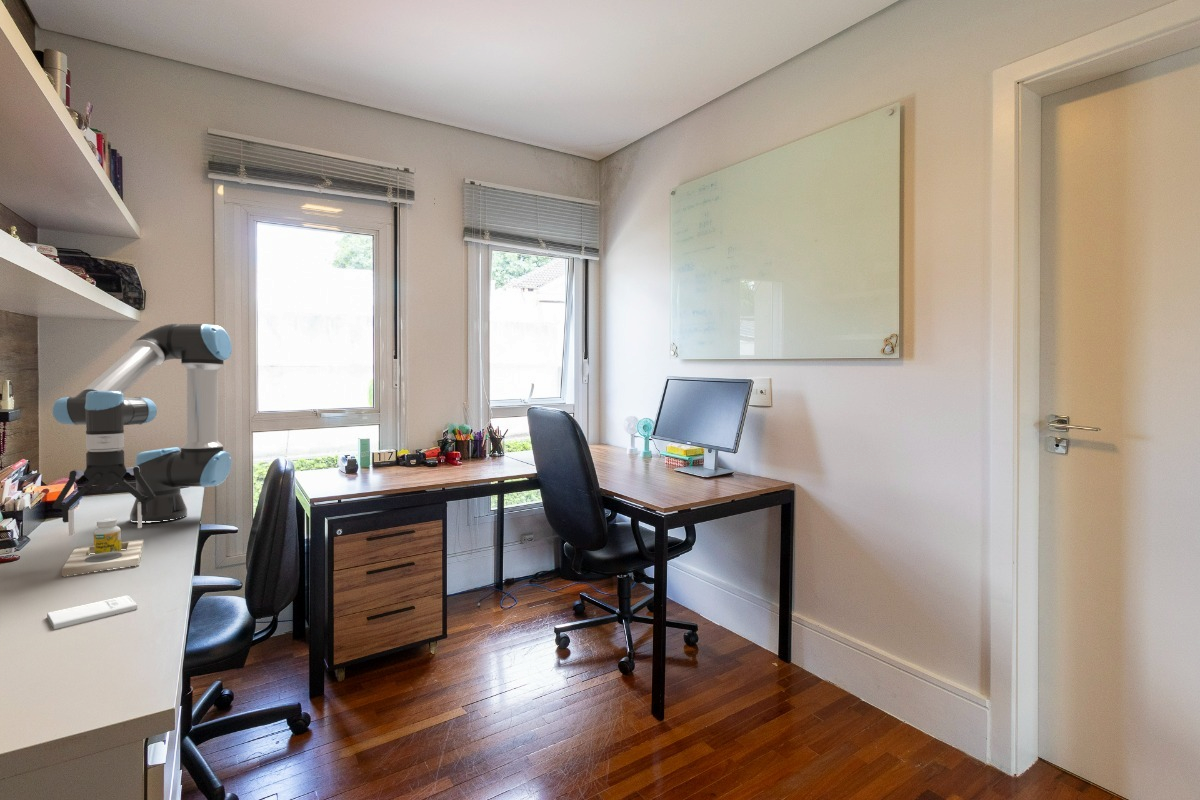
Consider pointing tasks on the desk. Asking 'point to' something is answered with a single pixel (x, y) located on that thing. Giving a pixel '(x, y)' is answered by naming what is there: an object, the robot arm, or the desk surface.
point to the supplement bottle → (107, 536)
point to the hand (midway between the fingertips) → (106, 530)
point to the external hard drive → (90, 611)
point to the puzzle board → (103, 558)
